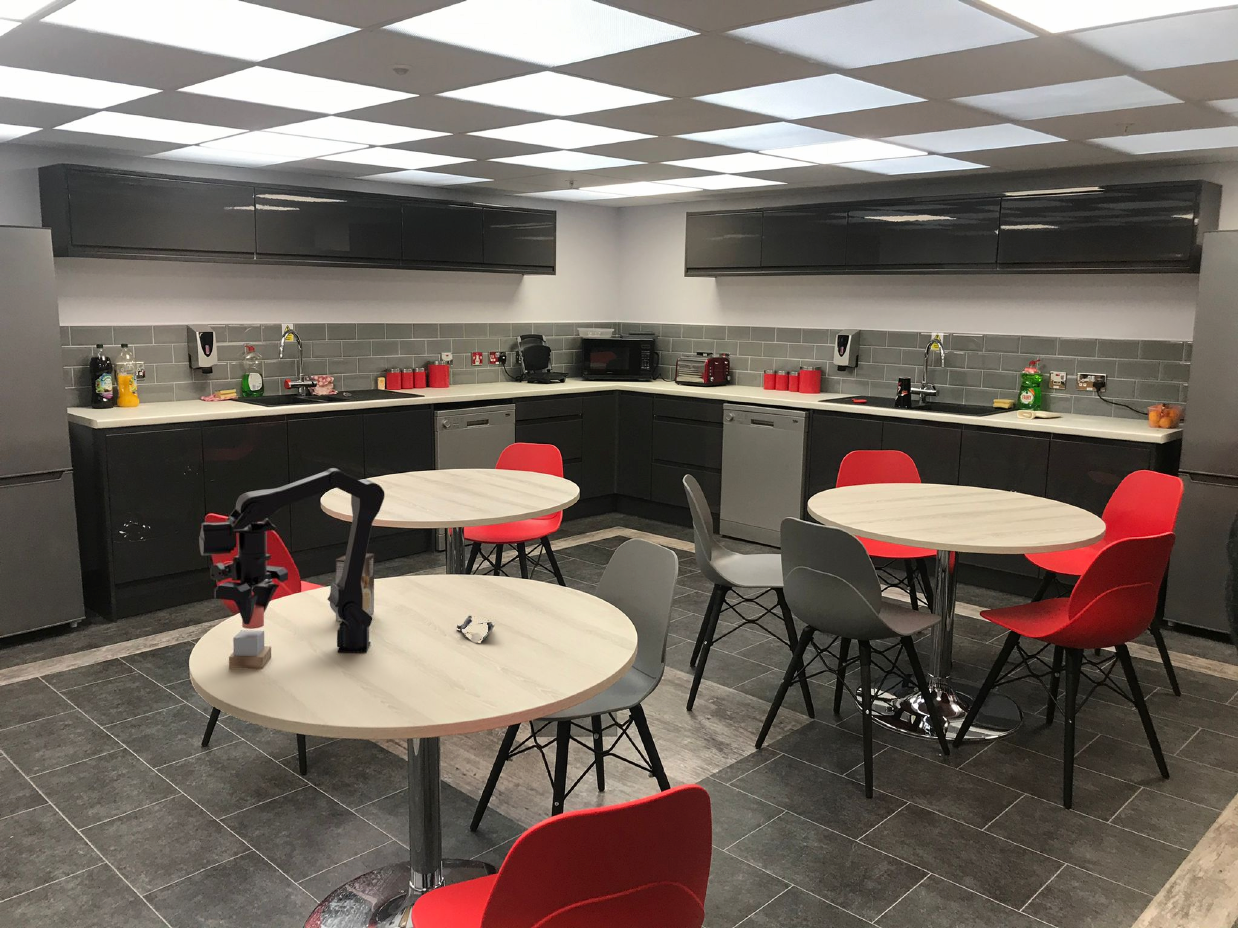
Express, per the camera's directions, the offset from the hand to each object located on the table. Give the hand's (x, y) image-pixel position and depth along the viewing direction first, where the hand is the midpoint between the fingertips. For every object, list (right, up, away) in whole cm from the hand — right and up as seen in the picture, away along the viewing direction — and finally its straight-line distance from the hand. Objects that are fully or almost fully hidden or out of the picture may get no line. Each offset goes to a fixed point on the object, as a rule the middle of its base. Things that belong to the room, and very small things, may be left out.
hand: (253, 620), depth 203 cm
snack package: (+44, -9, +27) cm, 53 cm away
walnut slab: (-1, -10, +1) cm, 10 cm away
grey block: (-1, -7, +1) cm, 7 cm away
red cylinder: (0, -1, 0) cm, 1 cm away
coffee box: (+12, -5, +37) cm, 39 cm away
